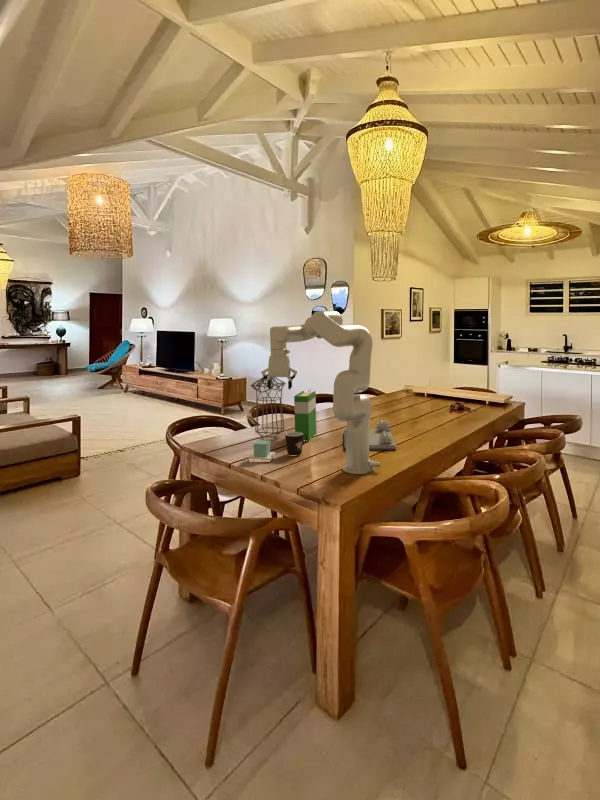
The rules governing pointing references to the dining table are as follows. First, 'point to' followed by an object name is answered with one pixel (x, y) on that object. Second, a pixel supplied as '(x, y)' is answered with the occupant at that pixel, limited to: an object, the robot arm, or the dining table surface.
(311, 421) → the hardback book
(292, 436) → the coffee mug
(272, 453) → the coaster
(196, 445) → the dining table surface
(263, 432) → the geometric lantern
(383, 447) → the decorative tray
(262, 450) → the block
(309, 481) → the dining table surface
